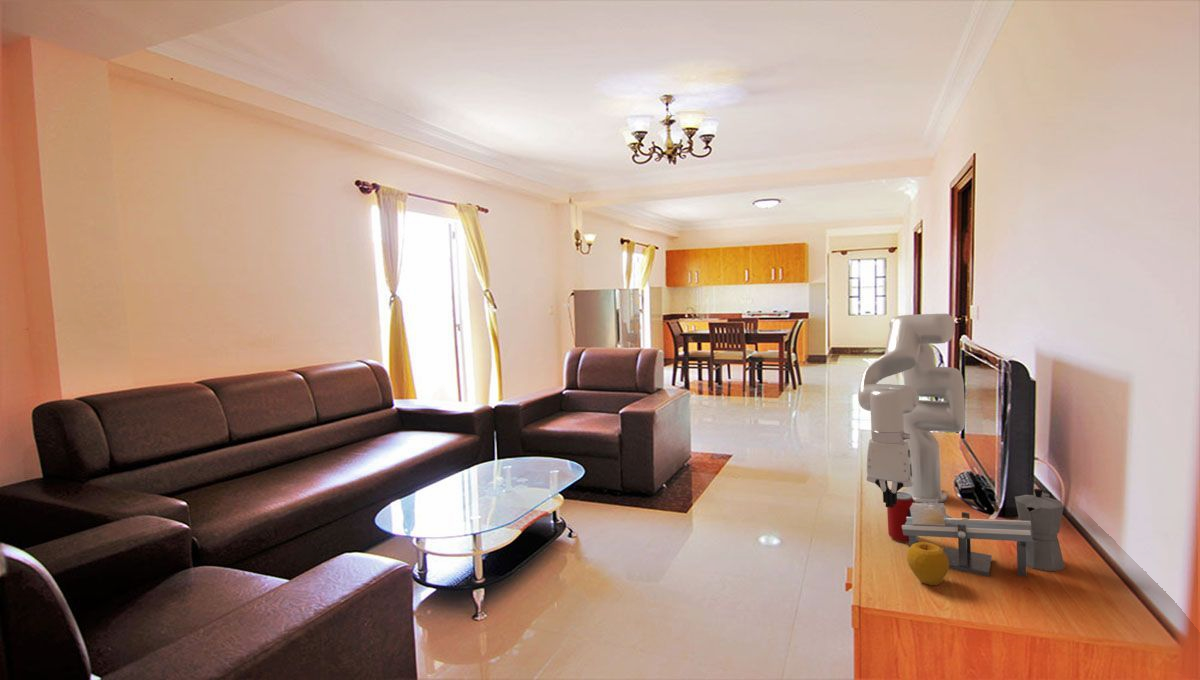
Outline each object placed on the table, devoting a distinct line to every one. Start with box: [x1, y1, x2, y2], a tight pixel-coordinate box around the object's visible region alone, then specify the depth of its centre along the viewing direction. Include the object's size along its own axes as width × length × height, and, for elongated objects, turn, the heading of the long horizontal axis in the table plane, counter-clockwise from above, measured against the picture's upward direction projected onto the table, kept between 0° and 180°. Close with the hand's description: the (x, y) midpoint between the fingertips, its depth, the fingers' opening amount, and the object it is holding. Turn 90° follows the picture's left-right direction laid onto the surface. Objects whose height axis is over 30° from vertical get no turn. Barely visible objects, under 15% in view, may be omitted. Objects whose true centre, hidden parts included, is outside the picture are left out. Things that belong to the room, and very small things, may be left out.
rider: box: [910, 502, 948, 527], centre depth 138 cm, size 4×7×5 cm, turn 51°
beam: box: [902, 517, 1033, 542], centre depth 133 cm, size 7×26×2 cm, turn 51°
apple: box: [906, 541, 950, 586], centre depth 126 cm, size 8×8×9 cm
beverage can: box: [886, 491, 916, 543], centre depth 149 cm, size 7×7×12 cm
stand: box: [908, 511, 1027, 578], centre depth 133 cm, size 11×24×11 cm, turn 51°
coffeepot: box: [1014, 488, 1066, 572], centre depth 131 cm, size 15×9×18 cm, turn 127°
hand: (890, 505), depth 143 cm, fingers closed
